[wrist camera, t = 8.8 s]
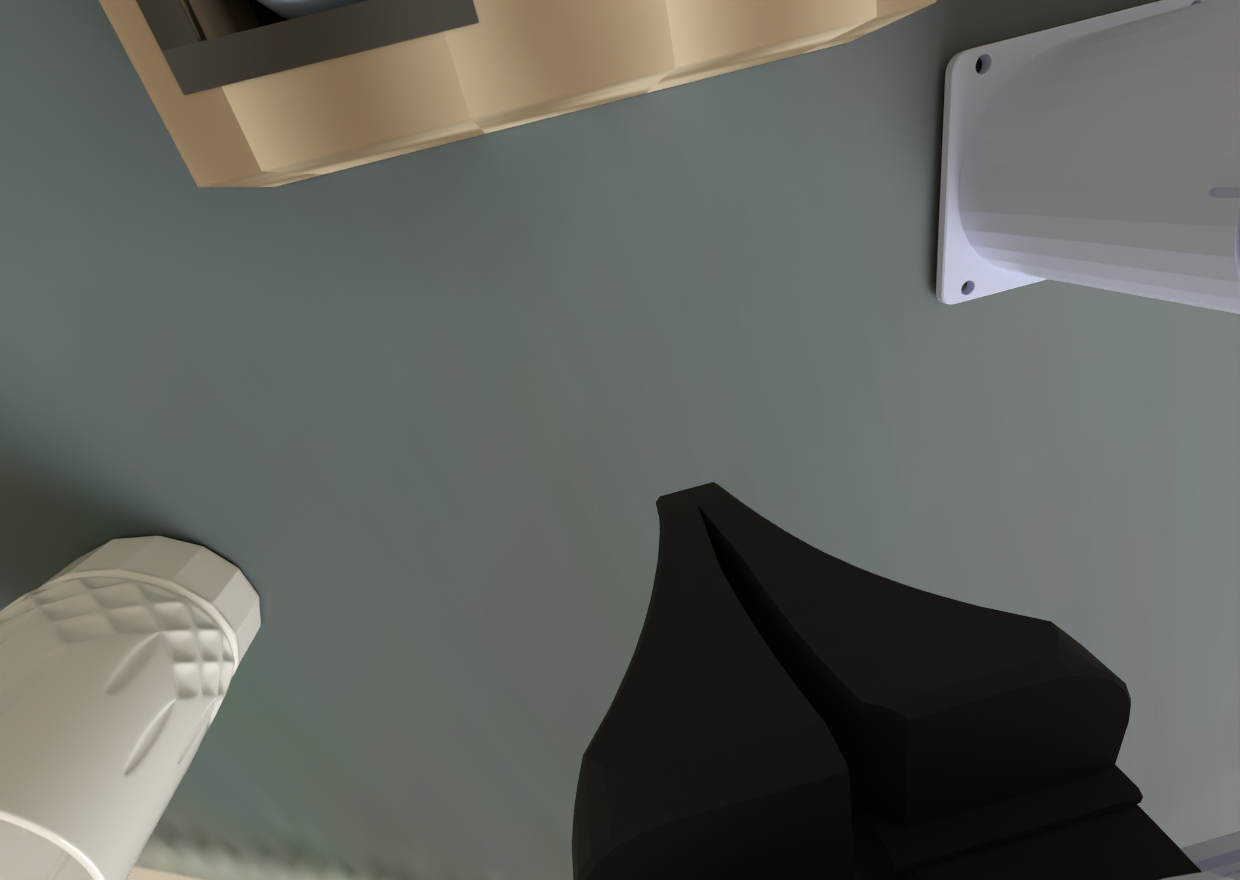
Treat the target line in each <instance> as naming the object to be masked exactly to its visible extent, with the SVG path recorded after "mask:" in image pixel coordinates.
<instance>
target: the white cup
mask: <svg viewBox="0 0 1240 880" xmlns="http://www.w3.org/2000/svg"><path fill="white" fill-rule="evenodd" d="M260 626H261V619H260V604H259V596H258V594H257V593H256V591H255V590H254V588H253V587H252V586H251V584H250V583H249V582H248V580H247V579H246V577H245V576H244V575H243V573H242V572H241V570H240V569H239V568H238V567H236V566H235V565H233V564H231V563H230V562H228V561H227V560H225V559H223V558H222V557H220V556H218V555H217V554H215V553H213V552H212V551H210V550H209V549H207V548H205V547H203V546H200V545H196V544H192V543H188V542H184V541H180V540H176V539H172V538H167V537H163V536H146V537H133V538H121V539H113V540H111V541H109V542H107V543H105V544H104V545H102V546H100V547H98V548H96V549H94V550H92V551H91V552H89V553H87V554H85V555H83V556H81V557H79V558H78V559H76V560H75V561H74V562H72V563H71V564H70V565H68V566H67V567H66V568H64V569H63V570H62V571H60V572H59V573H58V574H56V575H55V576H54V577H52V578H51V579H50V580H48V581H47V582H45V583H44V584H43V585H41V586H40V587H39V588H37V589H35V590H32V591H30V592H28V593H26V594H24V595H23V596H21V597H20V598H18V599H17V600H15V601H14V602H12V603H11V604H9V605H8V606H7V607H5V608H4V609H2V610H1V611H0V880H127V878H128V876H129V874H130V872H131V870H132V869H133V867H134V865H135V863H136V861H137V860H138V858H139V856H140V854H141V852H142V850H143V849H144V847H145V845H146V843H147V841H148V840H149V838H150V836H151V834H152V832H153V830H154V829H155V827H156V825H157V823H158V821H159V820H160V818H161V816H162V814H163V812H164V811H165V809H166V807H167V805H168V803H169V801H170V800H171V798H172V796H173V794H174V792H175V791H176V789H177V787H178V785H179V783H180V782H181V780H182V778H183V776H184V775H185V773H186V771H187V769H188V767H189V766H190V764H191V762H192V760H193V758H194V756H195V754H196V752H197V750H198V747H199V745H200V743H201V741H202V739H203V737H204V735H205V733H206V732H207V730H208V729H209V727H210V725H211V723H212V721H213V719H214V717H215V715H216V713H217V711H218V709H219V707H220V705H221V703H222V701H223V699H224V697H225V695H226V694H227V692H228V687H229V684H230V681H231V678H232V677H233V675H234V673H235V671H236V669H237V667H238V665H239V663H240V661H241V660H242V658H243V656H244V654H245V653H246V651H247V649H248V647H249V646H250V644H251V642H252V640H253V639H254V637H255V635H256V633H257V631H258V630H259V628H260Z"/></svg>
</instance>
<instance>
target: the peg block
mask: <svg viewBox="0 0 1240 880" xmlns="http://www.w3.org/2000/svg"><path fill="white" fill-rule="evenodd" d="M99 2H100V3H101V5H102V7H103V9H104V11H105V13H106V15H107V17H108V19H109V20H110V22H111V24H112V26H113V28H114V30H115V32H116V34H117V35H118V37H119V39H120V41H121V43H122V45H123V47H124V49H125V50H126V52H127V54H128V56H129V58H130V60H131V62H132V64H133V66H134V67H135V69H136V71H137V73H138V75H139V77H140V79H141V81H142V82H143V84H144V86H145V88H146V90H147V92H148V94H149V96H150V98H151V99H152V101H153V103H154V105H155V107H156V109H157V111H158V113H159V114H160V116H161V118H162V120H163V122H164V124H165V126H166V128H167V130H168V131H169V133H170V135H171V137H172V139H173V141H174V143H175V145H176V146H177V148H178V150H179V152H180V154H181V156H182V158H183V160H184V162H185V163H186V165H187V167H188V169H189V171H190V173H191V175H192V177H193V178H194V180H195V182H196V184H197V186H198V187H276V186H280V185H284V184H288V183H292V182H296V181H300V180H304V179H308V178H312V177H316V176H320V175H324V174H328V173H332V172H336V171H339V170H343V169H347V168H351V167H355V166H359V165H363V164H367V163H371V162H375V161H379V160H383V159H387V158H391V157H395V156H399V155H403V154H407V153H411V152H415V151H419V150H423V149H427V148H431V147H435V146H439V145H443V144H447V143H451V142H455V141H459V140H463V139H467V138H471V137H475V136H478V135H482V134H486V133H490V132H494V131H498V130H502V129H506V128H510V127H514V126H518V125H522V124H526V123H530V122H534V121H538V120H542V119H546V118H550V117H554V116H558V115H562V114H566V113H570V112H574V111H578V110H582V109H586V108H590V107H594V106H598V105H602V104H606V103H610V102H614V101H617V100H621V99H625V98H629V97H633V96H637V95H641V94H645V93H649V92H653V91H657V90H661V89H665V88H669V87H673V86H677V85H681V84H685V83H689V82H693V81H697V80H701V79H705V78H709V77H713V76H717V75H721V74H725V73H729V72H733V71H737V70H741V69H745V68H749V67H753V66H757V65H760V64H764V63H768V62H772V61H776V60H780V59H784V58H788V57H792V56H796V55H800V54H804V53H808V52H812V51H816V50H820V49H824V48H828V47H832V46H836V45H840V44H844V43H848V42H851V41H853V40H855V39H857V38H859V37H862V36H864V35H866V34H868V33H870V32H872V31H875V30H877V29H879V28H881V27H883V26H885V25H888V24H890V23H892V22H894V21H896V20H898V19H901V18H903V17H905V16H907V15H909V14H911V13H914V12H916V11H918V10H920V9H922V8H924V7H927V6H929V5H931V4H933V3H935V2H936V0H369V1H365V2H360V3H356V4H352V5H348V6H344V7H340V8H336V9H332V10H328V11H324V12H319V13H315V14H311V15H307V16H303V17H299V18H295V19H291V20H287V21H283V22H278V23H274V24H270V25H266V26H262V27H260V26H259V24H258V21H257V19H256V17H255V14H254V12H253V10H252V7H251V5H250V3H249V0H99Z"/></svg>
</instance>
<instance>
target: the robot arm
mask: <svg viewBox="0 0 1240 880" xmlns="http://www.w3.org/2000/svg"><path fill="white" fill-rule="evenodd" d="M979 58H980V59H981V60H982V68H981V71H980V72H979V73H977V72H976V67H975V66H976V62H977V60H978V59H979ZM1046 279H1051V280H1057V281H1062V282H1067V283H1073V284H1078V285H1084V286H1089V287H1095V288H1100V289H1106V290H1111V291H1117V292H1122V293H1128V294H1133V295H1139V296H1144V297H1150V298H1155V299H1160V300H1166V301H1171V302H1177V303H1182V304H1188V305H1193V306H1199V307H1204V308H1210V309H1215V310H1221V311H1226V312H1232V313H1237V314H1240V0H1161V1H1157V2H1153V3H1149V4H1145V5H1141V6H1138V7H1134V8H1130V9H1126V10H1122V11H1118V12H1114V13H1110V14H1106V15H1102V16H1098V17H1094V18H1090V19H1086V20H1082V21H1078V22H1074V23H1070V24H1067V25H1063V26H1059V27H1055V28H1051V29H1047V30H1043V31H1039V32H1035V33H1031V34H1027V35H1023V36H1019V37H1015V38H1011V39H1007V40H1003V41H999V42H996V43H992V44H988V45H984V46H980V47H976V48H972V49H968V50H965V51H962V52H960V53H958V54H956V55H955V56H954V57H953V58H952V59H951V60H950V62H949V64H948V66H947V69H946V74H945V95H944V118H943V141H942V165H941V188H940V211H939V234H938V258H937V281H936V296H937V299H938V300H939V301H940V302H942V303H945V304H956V303H960V302H963V301H967V300H971V299H975V298H979V297H982V296H986V295H990V294H994V293H997V292H1001V291H1005V290H1009V289H1012V288H1016V287H1020V286H1024V285H1027V284H1031V283H1035V282H1039V281H1043V280H1046ZM965 282H967V286H966V289H965V290H964V291H963V292H961V288H962V285H963V284H964V283H965ZM656 506H657V510H658V514H659V520H660V539H659V553H658V562H657V568H656V574H655V580H654V586H653V591H652V596H651V600H650V604H649V608H648V612H647V615H646V619H645V622H644V626H643V629H642V632H641V635H640V637H639V640H638V643H637V646H636V649H635V652H634V655H633V657H632V660H631V662H630V665H629V667H628V669H627V671H626V674H625V676H624V678H623V680H622V682H621V685H620V687H619V689H618V691H617V694H616V696H615V698H614V700H613V702H612V704H611V706H610V708H609V710H608V712H607V714H606V716H605V717H604V719H603V721H602V723H601V724H600V726H599V728H598V730H597V732H596V733H595V735H594V737H593V739H592V740H591V742H590V744H589V746H588V747H587V749H586V751H585V753H584V755H583V758H582V763H581V769H580V774H579V780H578V785H577V792H576V799H575V807H574V817H573V834H572V859H573V878H574V880H1240V831H1239V832H1235V833H1232V834H1228V835H1225V836H1222V837H1218V838H1215V839H1211V840H1208V841H1205V842H1201V843H1198V844H1195V845H1191V846H1188V847H1184V848H1181V849H1180V848H1179V847H1178V846H1177V845H1176V844H1175V843H1174V842H1173V841H1172V840H1171V839H1170V838H1169V837H1168V836H1167V835H1166V834H1165V833H1164V832H1163V831H1162V830H1161V829H1160V828H1159V826H1158V825H1157V824H1156V823H1155V822H1154V821H1153V820H1152V819H1151V818H1150V817H1149V816H1148V815H1147V814H1146V813H1145V812H1144V811H1143V810H1142V809H1141V808H1140V807H1139V806H1138V805H1137V804H1138V803H1141V800H1142V798H1143V796H1142V794H1141V792H1140V790H1139V788H1138V787H1137V786H1136V785H1135V784H1134V783H1133V782H1132V781H1131V780H1130V779H1129V778H1128V777H1127V776H1126V775H1125V774H1124V773H1123V772H1122V771H1121V770H1120V769H1119V768H1118V767H1117V766H1116V765H1115V763H1116V759H1117V756H1118V753H1119V750H1120V747H1121V744H1122V741H1123V738H1124V735H1125V731H1126V728H1127V725H1128V722H1129V715H1130V707H1131V698H1130V695H1129V692H1128V689H1127V686H1126V684H1125V683H1124V682H1123V681H1122V680H1121V679H1120V678H1118V677H1117V676H1116V675H1115V674H1114V673H1113V672H1112V671H1111V670H1109V669H1108V668H1107V667H1106V666H1105V665H1104V664H1103V663H1101V662H1100V661H1099V660H1098V659H1097V658H1096V657H1095V656H1093V655H1092V654H1091V653H1090V652H1089V651H1088V650H1087V649H1086V648H1084V647H1083V646H1082V645H1081V644H1080V643H1078V642H1077V641H1076V640H1074V639H1073V638H1072V637H1071V636H1069V635H1068V634H1067V633H1065V632H1064V631H1063V630H1061V629H1060V628H1059V627H1057V626H1056V625H1055V624H1053V623H1052V622H1051V621H1046V620H1041V619H1036V618H1032V617H1027V616H1022V615H1018V614H1013V613H1008V612H1004V611H999V610H994V609H989V608H985V607H980V606H976V605H972V604H968V603H965V602H961V601H957V600H954V599H950V598H946V597H943V596H939V595H935V594H932V593H929V592H926V591H922V590H919V589H916V588H913V587H910V586H906V585H904V584H901V583H898V582H895V581H892V580H890V579H887V578H884V577H881V576H879V575H876V574H873V573H870V572H868V571H865V570H863V569H860V568H858V567H856V566H853V565H851V564H849V563H847V562H844V561H842V560H840V559H838V558H835V557H833V556H831V555H829V554H827V553H824V552H822V551H820V550H818V549H816V548H814V547H812V546H811V545H809V544H807V543H805V542H803V541H802V540H800V539H798V538H796V537H794V536H793V535H791V534H789V533H788V532H786V531H784V530H783V529H781V528H779V527H778V526H776V525H775V524H773V523H772V522H770V521H769V520H767V519H765V518H764V517H762V516H761V515H759V514H758V513H756V512H755V511H753V510H752V509H751V508H749V507H748V506H746V505H745V504H743V503H742V502H741V501H739V500H738V499H737V498H735V497H734V496H732V495H731V494H730V493H728V492H727V491H726V490H724V489H723V488H722V487H720V486H719V485H718V484H716V483H714V482H712V483H708V484H704V485H701V486H697V487H693V488H690V489H686V490H682V491H679V492H675V493H671V494H668V495H664V496H660V497H659V498H658V500H657V501H656Z"/></svg>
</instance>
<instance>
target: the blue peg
mask: <svg viewBox="0 0 1240 880" xmlns="http://www.w3.org/2000/svg"><path fill="white" fill-rule="evenodd" d="M257 1H258V2H260V3H261V4H263V5H264V6H266V7H267V8H269V9H270V10H272V11H273V12H275V13H276V14H278V15H279V16H281V17H283V18H284V19H286V20H291V19H295V18H299V17H303V16H307V15H311V14H315V13H319V12H324V11H328V10H332V9H336V8H340V7H344V6H348V5H352V4H356V3H360V2H365V1H369V0H257Z"/></svg>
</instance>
